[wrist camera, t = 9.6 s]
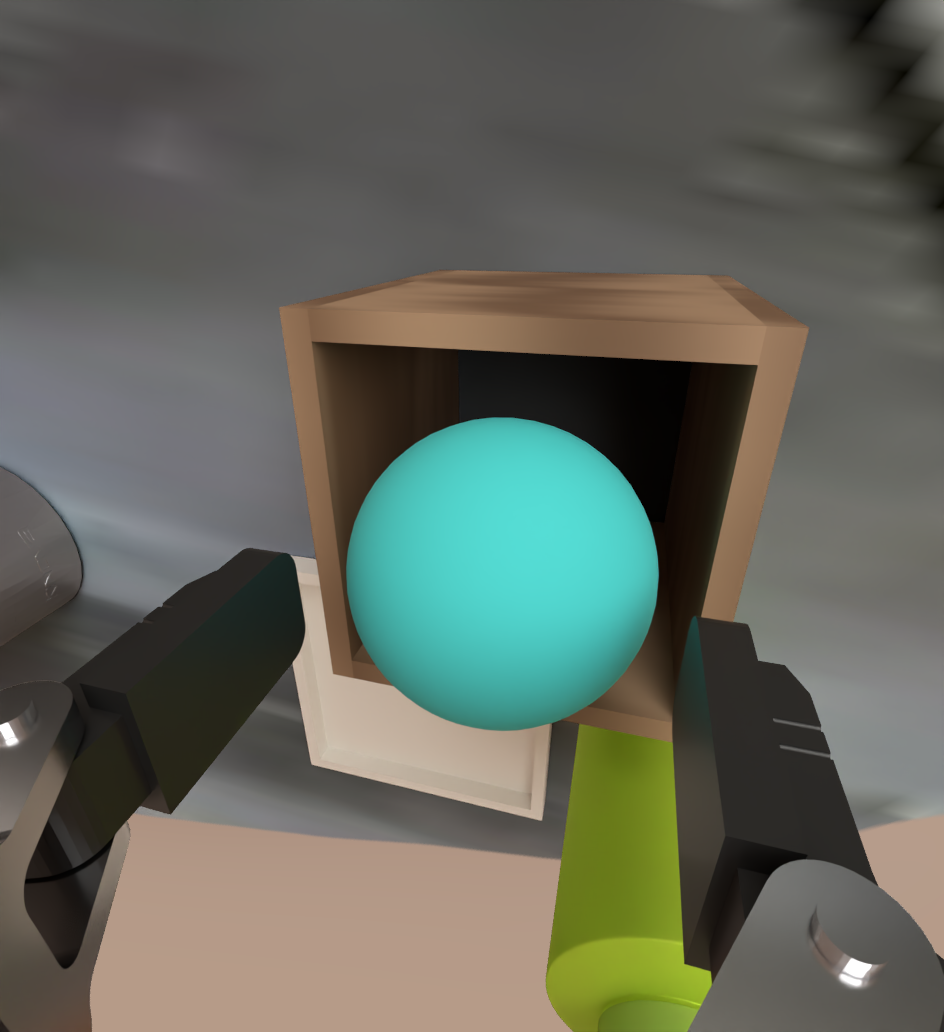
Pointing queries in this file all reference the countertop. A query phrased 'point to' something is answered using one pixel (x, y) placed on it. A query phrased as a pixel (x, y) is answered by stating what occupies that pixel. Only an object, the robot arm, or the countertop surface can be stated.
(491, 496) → the ball
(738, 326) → the box
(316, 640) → the dish
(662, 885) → the soap dispenser
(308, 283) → the countertop surface
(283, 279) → the countertop surface
